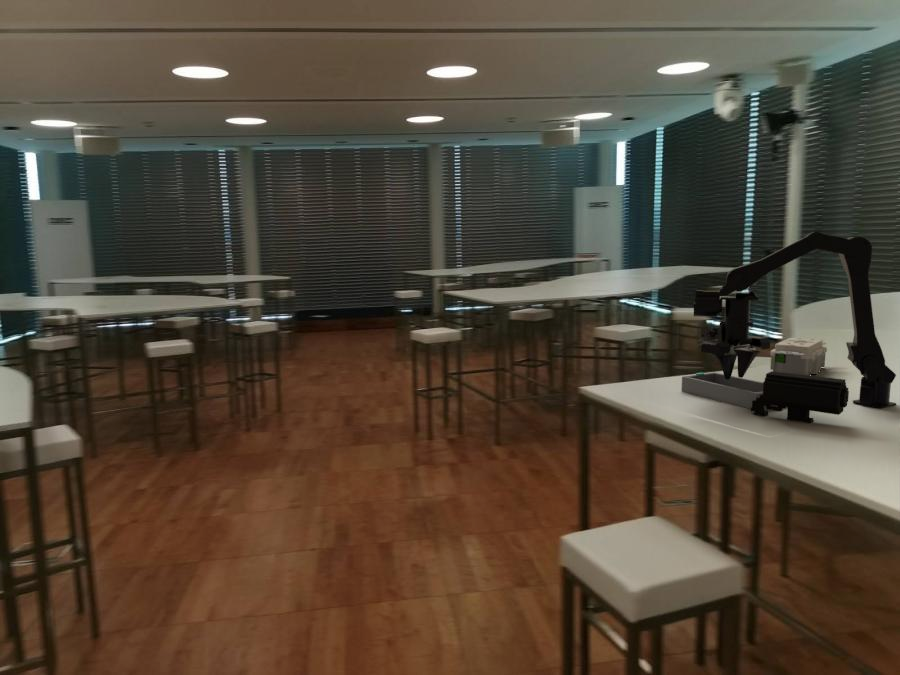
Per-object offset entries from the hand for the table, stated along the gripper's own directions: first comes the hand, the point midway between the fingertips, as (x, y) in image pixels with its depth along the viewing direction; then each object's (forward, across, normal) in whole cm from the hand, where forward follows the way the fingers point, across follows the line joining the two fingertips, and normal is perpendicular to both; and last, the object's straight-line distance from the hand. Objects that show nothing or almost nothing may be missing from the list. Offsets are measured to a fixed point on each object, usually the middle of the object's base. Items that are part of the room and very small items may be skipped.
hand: (734, 378), depth 159 cm
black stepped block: (+5, +6, +21) cm, 23 cm away
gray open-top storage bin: (+5, 0, 0) cm, 5 cm away
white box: (+5, -40, -11) cm, 42 cm away
